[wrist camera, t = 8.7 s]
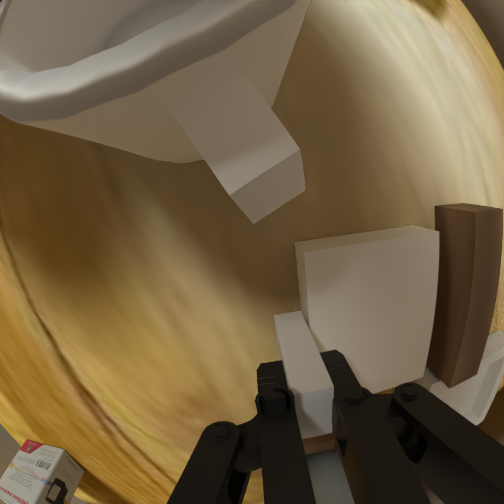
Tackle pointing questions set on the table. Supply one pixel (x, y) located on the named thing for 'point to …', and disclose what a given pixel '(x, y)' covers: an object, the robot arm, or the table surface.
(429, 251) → the white flat block
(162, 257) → the table surface
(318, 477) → the dowel
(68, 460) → the ink box
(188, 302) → the table surface
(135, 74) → the mug
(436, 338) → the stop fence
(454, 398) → the tray
